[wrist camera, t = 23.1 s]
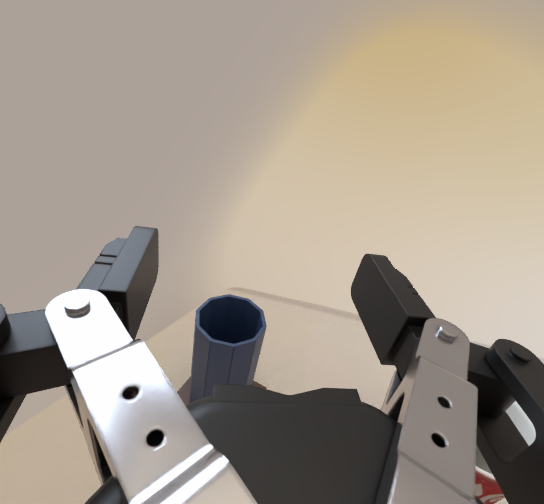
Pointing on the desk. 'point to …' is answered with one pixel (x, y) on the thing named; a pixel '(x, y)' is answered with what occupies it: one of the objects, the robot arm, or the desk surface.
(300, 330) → the desk surface
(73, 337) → the robot arm
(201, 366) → the tumbler
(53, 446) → the desk surface
